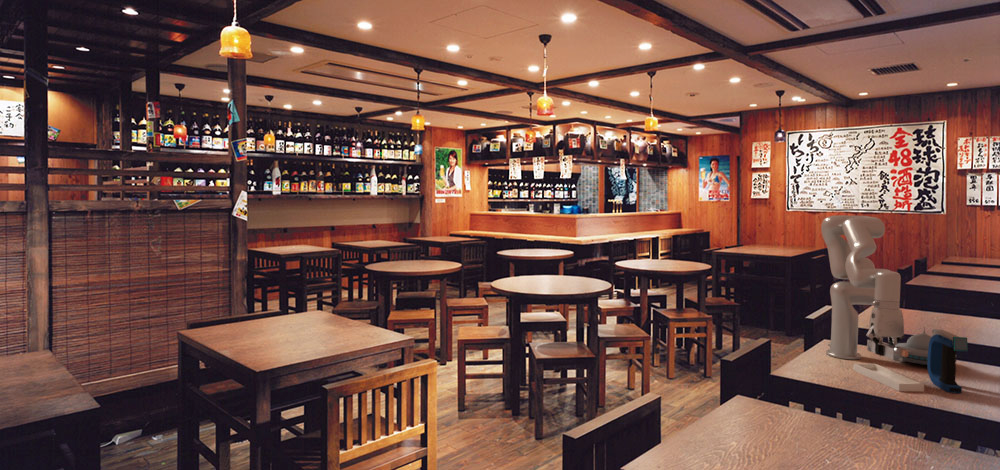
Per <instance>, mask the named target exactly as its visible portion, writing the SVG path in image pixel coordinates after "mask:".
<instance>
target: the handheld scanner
mask: <svg viewBox="0 0 1000 470" xmlns="http://www.w3.org/2000/svg"><path fill="white" fill-rule="evenodd" d="M931 333H932V335H931V339H930V342H929V347H928V362H927V365H926V366H927V373H928V377H929V379H930V381H931V382H932V384H933V385H934V386H936V387H937V388H939V389H941V390H942V391H945V392H946V393H948V394H950V393H952V394H962V390H963V389H962V386H961V385H959V384H958V383H957V380H956V374H957V373H956V371H957V366H956V365H957V363H956V362H955V359H956V358H957V357H956V355H957V352H968V337H965V336H962V337H961V336H958V335H956V334H954V333H951V332H948V331H946V330H944V329H937V328H933V330H932V332H931ZM955 357H956V358H955Z"/></svg>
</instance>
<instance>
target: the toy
mask: <svg viewBox="0 0 1000 470" xmlns="http://www.w3.org/2000/svg"><path fill="white" fill-rule="evenodd" d="M925 328H926V327H925V326H924V327H923V332H922V333H917V334H914V335H911V336H910V337H908V338H907V341H906V342H897V345H895V346H897V347H904V348H906V350H907V351H908V357H906V361H905V362H909V363H913V364H919V365H924V366H925V365H926V366H927V362H928V347H929V342H930V339H931V337H932V335H929V334H927V333H926V329H925ZM957 357H958V355H957V354H956V357H955V363H956V362H957V359H956V358H957Z"/></svg>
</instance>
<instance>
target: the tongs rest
mask: <svg viewBox="0 0 1000 470" xmlns="http://www.w3.org/2000/svg"><path fill="white" fill-rule="evenodd" d="M852 368H853V371H854V372H856V373H859V374H860V375H863V376H865V377H867V378H869V379H872V380H873V381H875V382H878V383H880V384H882V385H884V386H887V387H889V388H891V389H893V390H895V391H896V392H924V391H925V383H923V382H920V381H918V380H916V379H913V378H912V377H908V376H906V375H904V374H902V373H899V372H896V371H894V370H892V369H890V368H887V367H884V366H882V365H879V364H877V363H853V366H852Z"/></svg>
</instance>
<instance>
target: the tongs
mask: <svg viewBox="0 0 1000 470" xmlns="http://www.w3.org/2000/svg"><path fill="white" fill-rule="evenodd" d="M866 342H867V344H866V350H867V351H868V352H871V353H874V354H876V353H875V343H874V342H873V340H872V339H867V341H866ZM887 343H888V342H884V341H882V345H883V356H882V357H884V358H887V359H890V360H892V361H895V362H899V363H901V362H902V363H905V362H907V361H906V357H908V351H907V350H906V348H904V347H897V346H893V345H890V344H887Z"/></svg>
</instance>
